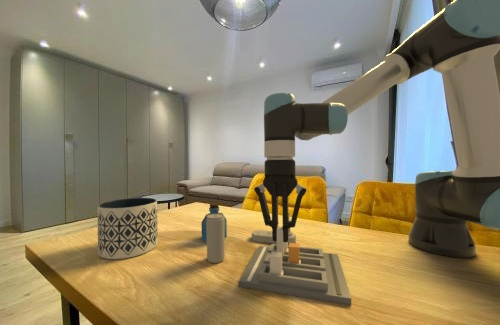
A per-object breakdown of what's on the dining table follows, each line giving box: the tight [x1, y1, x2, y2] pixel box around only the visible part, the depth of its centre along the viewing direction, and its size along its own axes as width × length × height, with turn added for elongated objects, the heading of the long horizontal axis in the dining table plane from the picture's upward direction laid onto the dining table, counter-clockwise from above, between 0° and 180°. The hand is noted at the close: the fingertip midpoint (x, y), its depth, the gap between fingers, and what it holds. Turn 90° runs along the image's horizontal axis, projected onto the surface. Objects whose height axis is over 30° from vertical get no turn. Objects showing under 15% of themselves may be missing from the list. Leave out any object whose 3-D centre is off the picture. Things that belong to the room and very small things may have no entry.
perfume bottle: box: [201, 202, 228, 243], centre depth 73 cm, size 6×6×12 cm
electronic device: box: [251, 212, 297, 246], centre depth 71 cm, size 5×10×15 cm
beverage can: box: [206, 213, 226, 264], centre depth 57 cm, size 5×5×12 cm
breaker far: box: [284, 242, 289, 251], centre depth 58 cm, size 3×2×5 cm
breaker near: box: [269, 251, 284, 275], centre depth 46 cm, size 3×2×5 cm
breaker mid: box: [288, 242, 301, 264], centre depth 51 cm, size 3×2×5 cm
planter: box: [96, 197, 159, 260], centre depth 65 cm, size 16×16×14 cm
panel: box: [238, 243, 352, 306], centre depth 51 cm, size 22×19×3 cm
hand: (280, 254), depth 52 cm, fingers closed
